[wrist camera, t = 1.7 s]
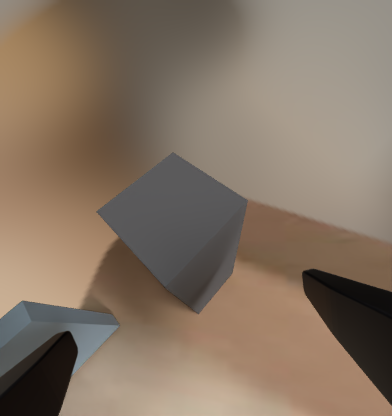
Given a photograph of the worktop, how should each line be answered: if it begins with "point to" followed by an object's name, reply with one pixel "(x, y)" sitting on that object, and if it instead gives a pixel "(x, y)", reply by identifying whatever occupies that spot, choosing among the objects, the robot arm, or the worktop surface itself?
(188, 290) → the block
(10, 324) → the door
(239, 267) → the worktop surface
